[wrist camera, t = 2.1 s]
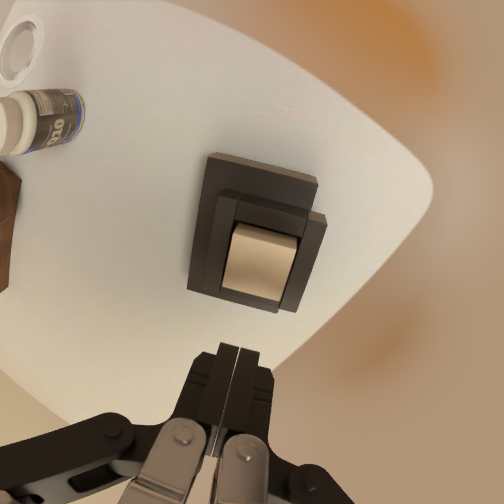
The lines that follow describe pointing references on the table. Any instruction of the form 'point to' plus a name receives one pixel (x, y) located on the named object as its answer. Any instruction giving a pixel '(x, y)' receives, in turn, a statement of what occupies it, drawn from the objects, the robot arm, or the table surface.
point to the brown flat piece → (7, 219)
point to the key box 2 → (254, 225)
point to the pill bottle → (38, 119)
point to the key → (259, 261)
